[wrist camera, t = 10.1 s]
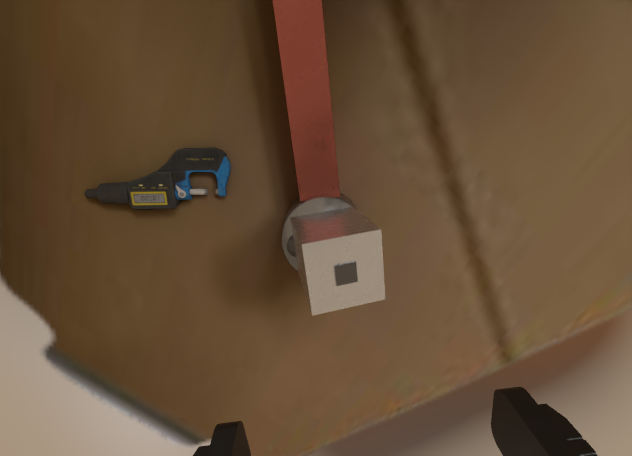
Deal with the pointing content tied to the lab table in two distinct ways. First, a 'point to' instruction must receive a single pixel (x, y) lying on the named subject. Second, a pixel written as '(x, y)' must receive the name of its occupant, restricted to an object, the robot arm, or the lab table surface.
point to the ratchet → (308, 112)
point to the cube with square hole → (338, 259)
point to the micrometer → (168, 181)
